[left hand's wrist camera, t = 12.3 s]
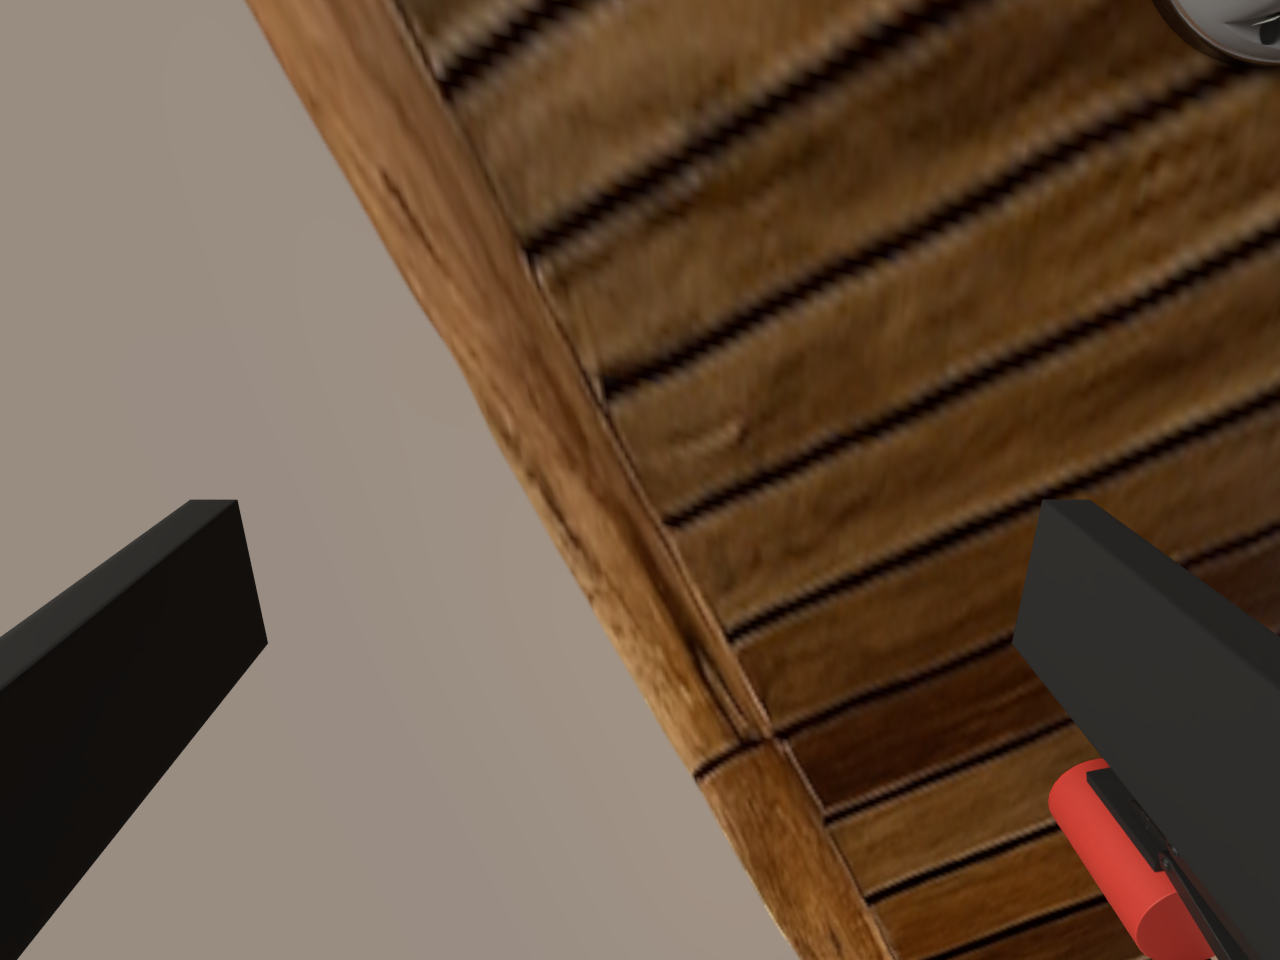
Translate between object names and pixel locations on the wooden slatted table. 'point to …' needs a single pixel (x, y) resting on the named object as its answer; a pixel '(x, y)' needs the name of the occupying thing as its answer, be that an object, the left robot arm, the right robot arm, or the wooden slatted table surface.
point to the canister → (1125, 872)
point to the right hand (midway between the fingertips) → (1110, 813)
